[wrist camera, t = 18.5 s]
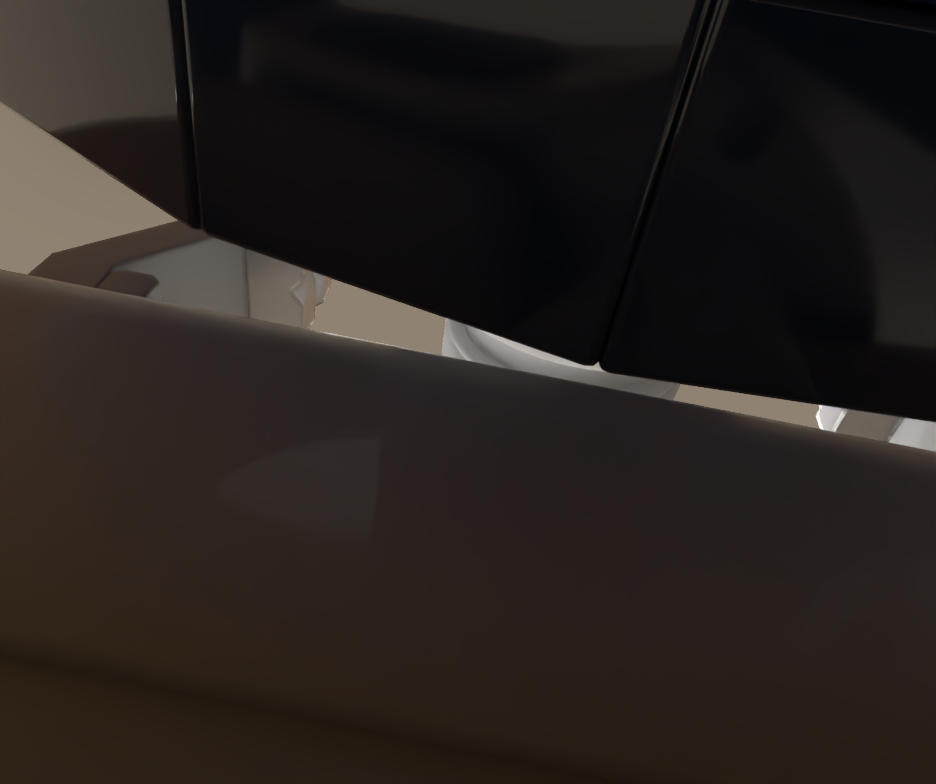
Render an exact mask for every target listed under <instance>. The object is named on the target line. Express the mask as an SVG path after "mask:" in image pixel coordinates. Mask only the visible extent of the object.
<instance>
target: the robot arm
mask: <svg viewBox="0 0 936 784" xmlns="http://www.w3.org/2000/svg"><path fill="white" fill-rule="evenodd" d="M331 280H332V278H329V277H326V276H323V275H320V274H317V273H315V272H312V271H309V270H306V269H303V268H300V267H297V266H294V265H291V264H289V263H286V262H283V261H280V260H277V259H274V258H271V257H268V256H265V255H263V254H260V253H257V252H254V251H251V250H248V249H245V248H242V247H239V246H236V245H234V244H231V243H228V242H225V241H222V240H219V239H216V238H213V237H210V236H208V235H207V234H206V233H204V232H203V231H202V230H196V229H191V228H189V227H188V226H186V225H185V224H183V223H182V222H180V221H175V222H171V223H167V224H164V225H159V226H156V227H152V228H148V229H144V230H140V231H137V232H133V233H129V234H125V235H121V236H117V237H114V238H110V239H106V240H102V241H98V242H94V243H90V244H87V245H83V246H79V247H75V248H71V249H67V250H63V251H60V252H56V253H52V254H51V255H50V256H49V257H48V258H46V259H45V260H44V261H43V262H42V263H41V264H39V265H38V266H37V267H36V268H35V269H34V270H32V271H31V272H30V273H29V274H28V275H26V274H21V273H15V272H10V271H5V270H0V784H936V422H929V421H922V420H916V419H909V418H903V417H896V416H889V415H883V414H876V413H870V412H863V411H856V410H850V409H843V408H837V407H830V406H823V405H819V406H820V409H819V410H818V412H817V414H816V418H817V421H818V424H819V427H820V429H817V428H812V427H807V426H802V425H797V424H791V423H786V422H781V421H776V420H771V419H766V418H761V417H755V416H750V415H745V414H740V413H735V412H730V411H725V410H720V409H714V408H709V407H704V406H699V405H694V404H689V403H684V402H678V401H673V400H668V399H663V398H658V397H653V396H648V395H643V394H638V393H632V392H627V391H622V390H617V389H612V388H607V387H602V386H597V385H591V384H586V383H581V382H576V381H571V380H566V379H561V378H556V377H550V376H545V375H540V374H535V373H530V372H525V371H520V370H515V369H509V368H504V367H499V366H494V365H489V364H484V363H479V362H473V361H468V360H463V359H458V358H453V357H448V356H443V355H438V354H432V353H427V352H422V351H417V350H412V349H407V348H401V347H396V346H391V345H386V344H381V343H376V342H371V341H366V340H361V339H356V338H350V337H345V336H340V335H335V334H330V333H325V332H320V331H314V330H309V328H310V327H311V325H312V323H313V321H314V319H315V306H317V305H320V304H322V303H323V302H324V300H325V298H326V296H327V294H328V291H329V287H330V284H331Z"/></svg>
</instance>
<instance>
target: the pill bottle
mask: <svg viewBox="0 0 936 784" xmlns="http://www.w3.org/2000/svg"><path fill="white" fill-rule="evenodd" d="M442 355H443V356H448V357H453V358H458V359H463V360H468V361H473V362H479V363H484V364H489V365H494V366H499V367H504V368H509V369H515V370H520V371H525V372H530V373H535V374H540V375H545V376H550V377H556V378H561V379H566V380H571V381H576V382H581V383H586V384H591V385H597V386H602V387H607V388H612V389H617V390H622V391H627V392H632V393H638V394H643V395H648V396H653V397H658V398H663V399H668V400H673V399H674V397H675V395H676V393H677V391H678V389H679V386H680V384H678V383H671V382H665V381H658V380H652V379H645V378H638V377H632V376H625V375H618V374H612V373H608V372H606V371H604V370H602V369H601V368H600V366H599V362H598V363H597V364H595V365H594V366H584V365H581V364H578V363H575V362H572V361H569V360H566V359H563V358H560V357H558V356H555V355H552V354H549V353H546V352H543V351H540V350H537V349H534V348H531V347H529V346H526V345H523V344H520V343H517V342H514V341H511V340H508V339H505V338H503V337H500V336H497V335H494V334H491V333H488V332H485V331H482V330H479V329H477V328H474V327H471V326H468V325H465V324H462V323H459V322H456V321H453V320H451V319H448V318H446V321H445V332H444V339H443V347H442Z"/></svg>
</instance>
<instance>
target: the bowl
mask: <svg viewBox="0 0 936 784" xmlns="http://www.w3.org/2000/svg"><path fill="white" fill-rule="evenodd" d="M0 104H2V105H3V106H5V107H6V108H8V109H9V110H11V111H12V112H14V113H16V114H17V115H19V116H20V117H22V118H23V119H25V120H26V121H28V122H29V123H31V124H32V125H34V126H35V127H37V128H38V129H40V130H42V131H43V132H44V133H46V134H47V135H49V136H50V137H52V138H54V139H55V140H57V141H58V142H60V143H61V144H63V145H64V146H66V147H67V148H69V149H70V150H72V151H74V152H75V153H76V154H78V155H79V156H81V157H82V158H84V159H86V160H87V161H89V162H90V163H92V164H93V165H95V166H96V167H98V168H99V169H101V170H103V171H104V172H105V173H107V174H108V175H110V176H112V177H113V178H114V179H116V180H118V181H119V182H121V183H122V184H124V185H125V186H127V187H128V188H130V189H131V190H133V191H134V192H136V193H137V194H139V195H140V196H142V197H143V198H145V199H146V200H148V201H150V202H151V203H153V204H154V205H156V206H157V207H159V208H160V209H162V210H163V211H165V212H166V213H168V214H169V215H171V216H173V217H174V218H175V219H177V220H178V221H180V222H182V223H183V224H185V225H186V226H188V227H189V228H191V229H196V230H202V231H203V232H204V233H206V234H207V235H208V236H210V237H213V238H216V239H219V240H222V241H225V242H228V243H231V244H234V245H236V246H239V247H242V248H245V249H248V250H251V251H254V252H257V253H260V254H263V255H265V256H268V257H271V258H274V259H277V260H280V261H283V262H286V263H289V264H291V265H294V266H297V267H300V268H303V269H306V270H309V271H312V272H315V273H317V274H320V275H323V276H326V277H329V278H332V279H335V280H338V281H341V282H343V283H347V284H349V285H352V286H355V287H358V288H361V289H364V290H367V291H370V292H373V293H376V294H378V295H381V296H384V297H387V298H390V299H393V300H396V301H398V302H402V303H404V304H407V305H410V306H413V307H416V308H419V309H422V310H424V311H427V312H430V313H433V314H436V315H439V316H442V317H445V318H448V319H451V320H453V321H456V322H459V323H462V324H465V325H468V326H471V327H474V328H477V329H479V330H482V331H485V332H488V333H491V334H494V335H497V336H500V337H503V338H505V339H508V340H511V341H514V342H517V343H520V344H523V345H526V346H529V347H531V348H534V349H537V350H540V351H543V352H546V353H549V354H552V355H555V356H558V357H560V358H563V359H566V360H569V361H572V362H575V363H578V364H581V365H584V366H594V365H595V364H597V363H598V362H599V366H600V368H601V369H602V370H604V371H606V372H608V373H612V374H618V375H625V376H632V377H638V378H645V379H652V380H658V381H665V382H671V383H678V384H685V385H692V386H698V387H704V388H711V389H718V390H724V391H731V392H738V393H744V394H751V395H757V396H764V397H771V398H778V399H784V400H790V401H797V402H804V403H811V404H817V405H823V406H830V407H837V408H843V409H850V410H856V411H863V412H870V413H876V414H883V415H889V416H896V417H903V418H909V419H916V420H922V421H929V422H936V0H0Z"/></svg>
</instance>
